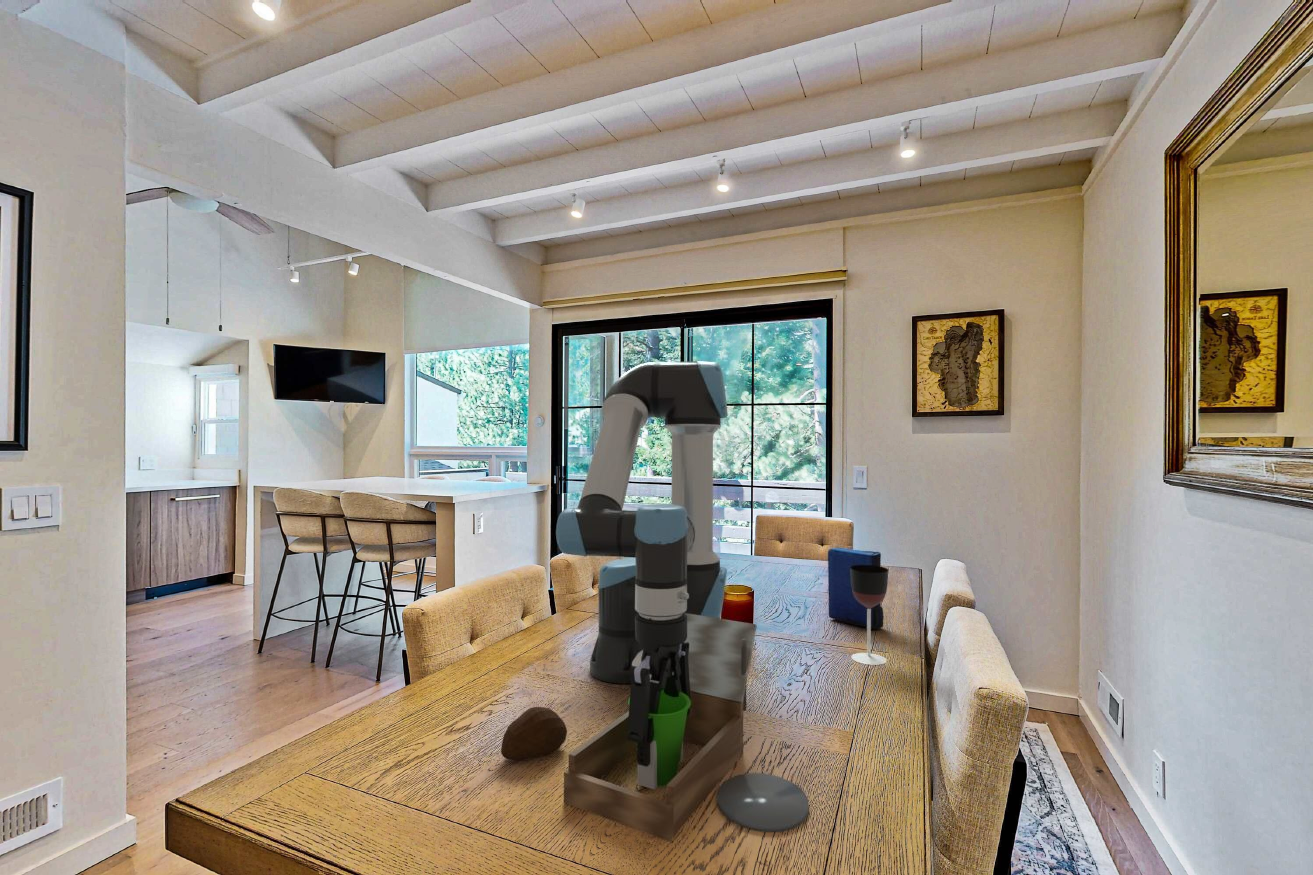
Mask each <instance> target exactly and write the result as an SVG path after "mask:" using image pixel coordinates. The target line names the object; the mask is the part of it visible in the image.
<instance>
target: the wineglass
mask: <svg viewBox="0 0 1313 875" xmlns="http://www.w3.org/2000/svg"><path fill="white" fill-rule="evenodd" d="M850 574H851V587H852V592H853V594H854V597H855V598H856V600H857V601H858V602H859V603H861V604H862V605H864V606H865V607H867V627H866V641H867V642H866V652H857V653H854V654H851V656H850V658H851V659H852V660H853V661H855V662H857V663H860V664H865V665H869V666H870V665H872V666H876V665H877V666H878V665H884V664H886V663H887V661H888V660H887V658H885V657H884V656H882V655H880V654H875V653H871V651H872V650H871V649H872V648H871V643H872V640H871V639H872V638H871V636H872V634H871V633H872V631H871V630H872V629H871V608H872V607H874V606H876V605H878V604H880V603H881V604H882V602H883V601H884V599H885V597H886V595H887V591H888V583H889V569H888V568H886V567H884V566H881V567H880V566H874V565H854V566H851V567H850Z"/></svg>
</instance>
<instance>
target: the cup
mask: <svg viewBox="0 0 1313 875" xmlns="http://www.w3.org/2000/svg"><path fill="white" fill-rule="evenodd" d="M629 703H630V697H628V699H627V705H628V707H629ZM690 705H691V701H690V699H689V697H688V696H687V695H686V694H684V693H682V692H680V693H679V697H671V696H668V695H666V694H665V693H664V690H662V691H661V696H660V702H659V708H658V714H650V713H649V716H648V719H651V718H653V724H654V738H653V740H655V741H656V747H657V787H656V788H658V787H661V788H662V787H666V785H667V784H668V783H669V782H670V781H671V780H672V779H673V778H674V777H675V776H676V775H677V774H678V773H679V767H680V763H679V761H680V755H681V749H682V742H683V743H684V741H683V736H684V730H685V723H686V717H687V711H688V708H689V707H690ZM636 747H637V742H636Z"/></svg>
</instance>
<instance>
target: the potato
mask: <svg viewBox="0 0 1313 875" xmlns="http://www.w3.org/2000/svg"><path fill="white" fill-rule="evenodd" d="M567 736H568V729H567V725H566V723H565V722H564V719H562V718H561V717H560V716H559V714H558V713H557V712H555V711H554V710H552V709H551V708H549V707H545V706H533V707H529V708H527V709H526V710H525V711H523V712H522V714H521V715H520V716H518V717H517V718H516V719H514V720H513V721H512V722H511V723H510V724H509V725H508V726H507V729H506V730H505V732H504V734H503V737H502V742H501V750H500V753H501V756H502V757H503V758H505V759H506V760H508V761H512V762H521V761H529V760H531V759H535V758H539V757H542V756H549V755H551V754H552V755H553V753H555V752H556V751H558V750H559V749H560V748H561V747H562V745H563V744H564V743H565V741H566V739H567Z"/></svg>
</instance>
